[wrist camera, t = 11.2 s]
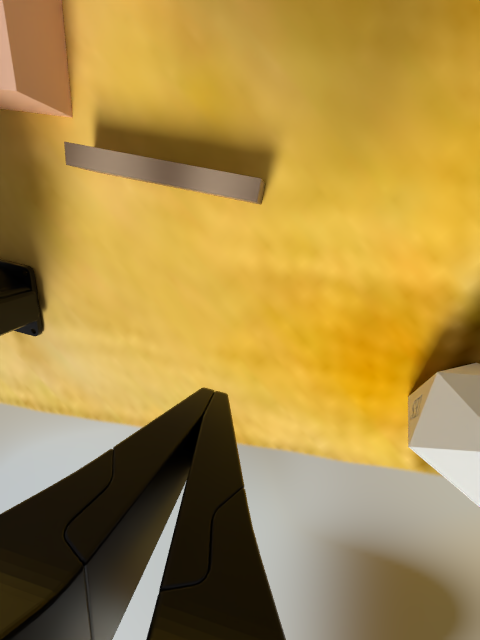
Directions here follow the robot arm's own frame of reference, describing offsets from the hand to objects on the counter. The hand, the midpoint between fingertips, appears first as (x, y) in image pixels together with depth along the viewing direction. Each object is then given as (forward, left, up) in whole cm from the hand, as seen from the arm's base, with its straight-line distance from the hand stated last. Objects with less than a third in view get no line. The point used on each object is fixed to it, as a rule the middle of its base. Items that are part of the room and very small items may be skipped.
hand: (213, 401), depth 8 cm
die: (+16, -4, -12) cm, 21 cm away
